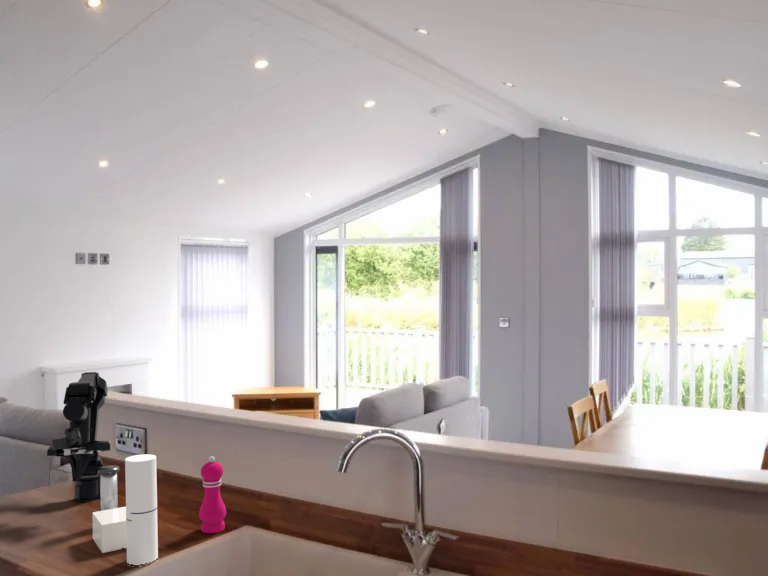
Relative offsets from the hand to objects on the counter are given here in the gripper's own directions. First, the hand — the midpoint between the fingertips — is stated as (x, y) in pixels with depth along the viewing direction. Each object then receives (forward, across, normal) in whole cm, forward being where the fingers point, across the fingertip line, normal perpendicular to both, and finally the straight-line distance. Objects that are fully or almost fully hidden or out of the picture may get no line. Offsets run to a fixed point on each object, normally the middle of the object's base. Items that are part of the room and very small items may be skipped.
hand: (77, 479), depth 203 cm
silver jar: (+14, +15, -2) cm, 21 cm away
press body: (+17, +23, -8) cm, 30 cm away
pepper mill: (+17, +41, +7) cm, 45 cm away
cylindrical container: (+22, +37, -16) cm, 46 cm away
